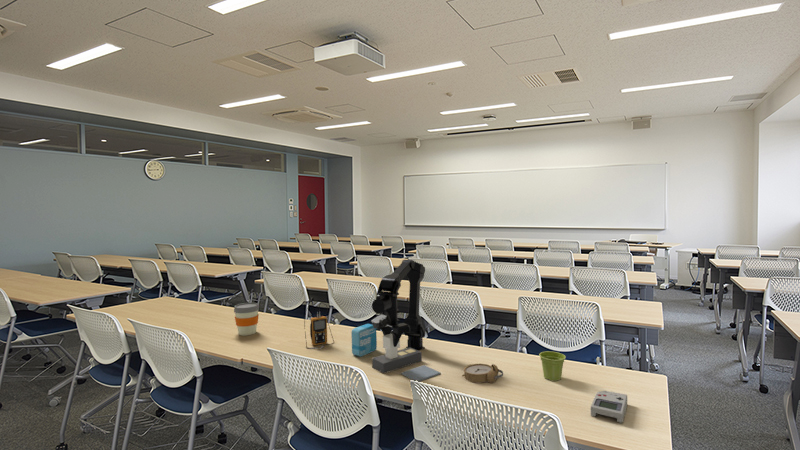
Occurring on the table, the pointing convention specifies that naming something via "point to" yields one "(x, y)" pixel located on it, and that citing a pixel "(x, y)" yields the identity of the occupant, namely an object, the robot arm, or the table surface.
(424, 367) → the mat
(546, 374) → the plant pot
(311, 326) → the multimeter
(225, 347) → the table surface
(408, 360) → the block
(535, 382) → the table surface
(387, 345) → the plug
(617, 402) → the handheld gaming device
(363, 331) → the data package
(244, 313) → the reusable coffee cup
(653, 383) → the table surface
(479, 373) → the alarm clock
